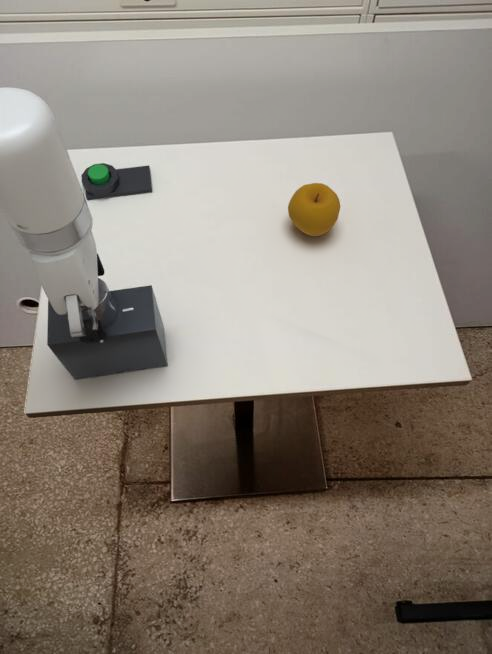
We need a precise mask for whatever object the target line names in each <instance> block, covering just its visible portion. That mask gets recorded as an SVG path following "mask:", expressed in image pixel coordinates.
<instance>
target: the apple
mask: <svg viewBox="0 0 492 654" xmlns="http://www.w3.org/2000/svg"><path fill="white" fill-rule="evenodd" d="M340 201H341V200H340V198H339V195H338V194H337V193H336V191H334V190H333V189H332V188H331V187H330V186H328V185H326V184H324V183H319V182H313V183H307V184H304V185H302V186H300V187H299V188H298V189H297V190H295V192H294V193H293V195H292V196H291V198H290V200H289V203H288V206H287V211H288V217H289V219H290V221H291V222H292V224H293V225H294V226H295V227H296V228H297V229H298V230H299V231H301V232H302V233H304V234H306V235H307V236H309V237H320V236H322V235H324V234H326V233H328V232H329V231H330V230H331V229H333V227H334V226H335V225H336V223H337V222H338V219H339V214H340V210H341V202H340Z"/></svg>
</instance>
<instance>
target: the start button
mask: <svg viewBox="0 0 492 654" xmlns="http://www.w3.org/2000/svg"><path fill="white" fill-rule="evenodd" d="M96 164H97V165H94V164H93V165H94V166H92V165H91V166H92V167H91V168H90V169H89V170H88V175H89V178H90V181H91V182H92V183H93V184H95V185H102V184H105V183H106V182H108V181H109V179H110V175H109V171H108V169H107V167H106V166H104V165H101V164H100V163H96Z"/></svg>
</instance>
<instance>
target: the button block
mask: <svg viewBox="0 0 492 654" xmlns="http://www.w3.org/2000/svg"><path fill="white" fill-rule="evenodd" d="M97 164H98V163H93V164H92V165H90V166H88V167H86V168H85V170H84V171H83V172H82V174H81V185H82V187H83V189H84V190H85V199H86V201H91V200H92V201H93V200H98V199H99V200H101V199H108V198H115V197H123V196H124V197H125V196H131V195H133V196H134V195H141V194H148V193H149V194H150V193H153V185H152V174H151V167H150V164H148V165H139V166H133V167H132V166H131V167H124V168H115V166H113V165H112V164H108V163H104V162H103V163H102V162H101V163H99V164H101V165H104V166H106V167H107V169H108V171H109V175H110V179H109V181H108V182H106V183H105V184H102V185H95V184H93V183H92V182H91V181H90V178H89V175H88V170H89V169H90V168H91V167H92V166H94V165H97Z"/></svg>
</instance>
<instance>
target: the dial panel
mask: <svg viewBox="0 0 492 654" xmlns="http://www.w3.org/2000/svg"><path fill="white" fill-rule="evenodd" d="M109 291H110V293H111V296H112V298H113V300H114V303H115V305H116V307H117V317H116V319H115V320H114V322H113V323H112V324H110V325H109V326H107V327H104V329H105V331H106V333H107V339H105V340H99V341H98V342H97V343H86V342H81V341H80V339H79V337H76V338H75V337H71V334H70V327H69V320H68V313H66V314H63V315H59V314H57V313H56V312H55V310H54V309H53V307H52V305H51V303H50V302H49V300H48V299H47V333H46V334H47V339H46V340H47V341H46V345H47V346H48V348H49V350H50V351H51V352H52V353H53V355H54V356H55V357H56V358H57V360H58V361H59V362H60V363H61V364H62V366H63V367H64V369H65V370H66V371H67V372H68V373H69V375H70V376H71V377H72V378H73V380H74V381H78V380H84V379H91V378H99V377H104V376H112V375H117V374H124V373H125V374H126V373H130V372H136V371H144V370H151V369H157V368H163V367H164V368H165V367H168V366H169V364H168V354H167V353H168V352H167V344H166V335H165V333H166V332H165V326H164V321H163V319H162V316H161V312H160V308H159V306H158V302H157V298H156V296H155V293H154V292H155V291H154V289H153V285H152V284H151V285H143V286H135V287H129V288H121V289H114V290H109ZM82 319H83V320H84V318H83V316H82Z"/></svg>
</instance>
